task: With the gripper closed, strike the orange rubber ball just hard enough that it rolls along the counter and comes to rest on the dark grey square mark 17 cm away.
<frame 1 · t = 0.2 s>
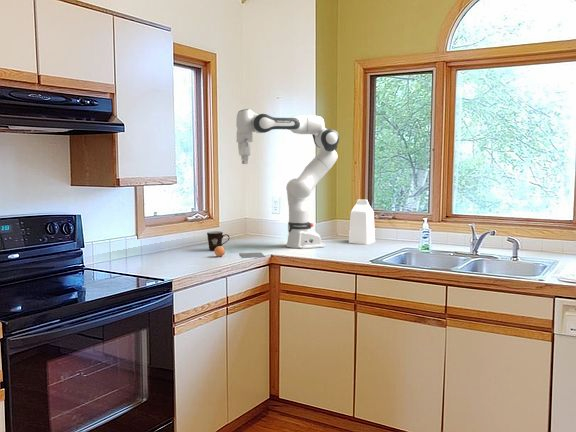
hand: (244, 164, 305), 48 cm above the countertop, tool pointing down, fingers open, 8 cm apart
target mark: (251, 255, 289), on the countertop
coffee mug: (217, 250, 304), on the countertop
ball: (219, 251, 285), on the countertop
milk: (362, 242, 331), on the countertop
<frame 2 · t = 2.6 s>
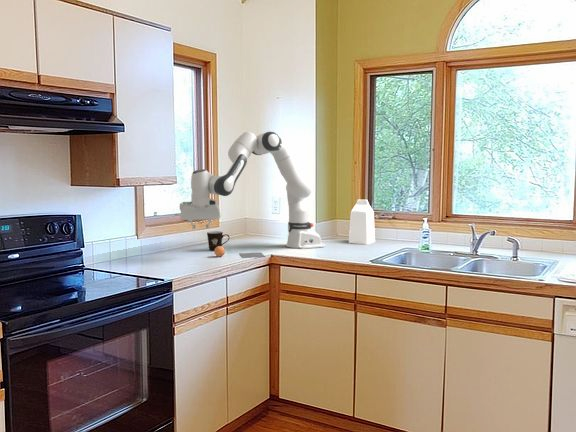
hand: (200, 228, 281), 15 cm above the countertop, tool pointing down, fingers open, 5 cm apart
nothing on the countertop moved.
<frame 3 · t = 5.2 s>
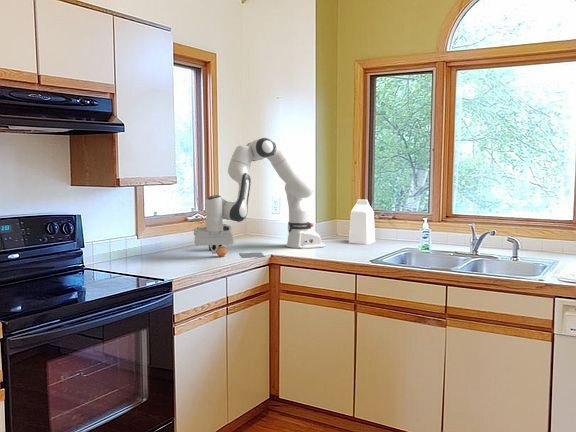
hand: (214, 253, 284), 2 cm above the countertop, tool pointing down, fingers closed
ball: (221, 251, 285), on the countertop, touching gripper
everything else where it was.
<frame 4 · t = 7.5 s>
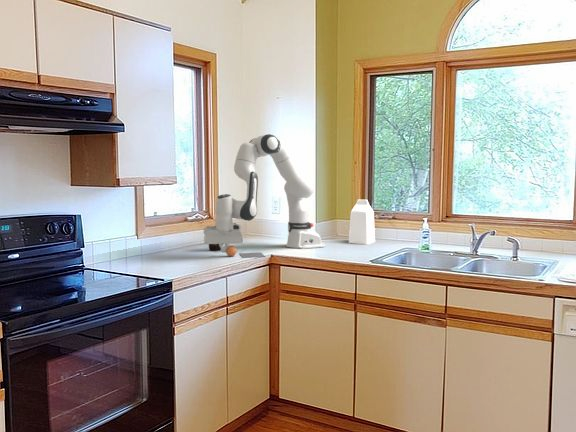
hand: (223, 252, 285), 2 cm above the countertop, tool pointing down, fingers closed
ball: (231, 251, 286), on the countertop, touching gripper
everything else where it was.
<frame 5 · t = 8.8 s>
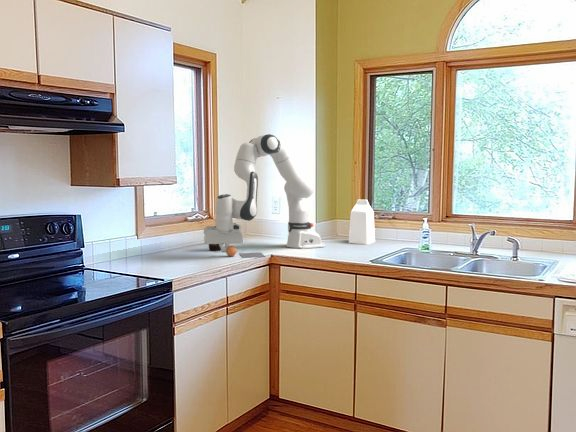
hand: (223, 252, 285), 2 cm above the countertop, tool pointing down, fingers closed
nothing on the countertop moved.
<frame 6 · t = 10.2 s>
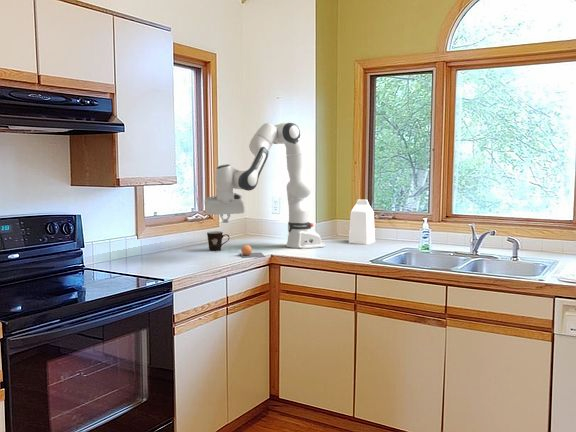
hand: (225, 222, 285), 18 cm above the countertop, tool pointing down, fingers closed
ball: (246, 250, 288), on the countertop
everything else where it was.
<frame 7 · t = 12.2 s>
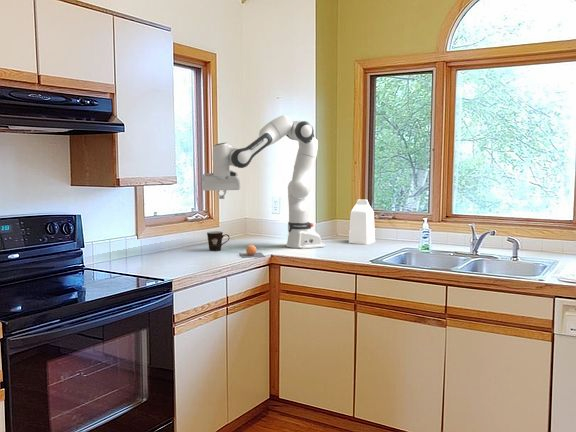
hand: (221, 198, 296), 29 cm above the countertop, tool pointing down, fingers closed
ball: (251, 250, 288), on the countertop
everything else where it was.
at the end: ball 0.4 cm from the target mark (horizontally); ball at rest at the end (0.0 cm/s); ball moved 16.6 cm from its start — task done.
